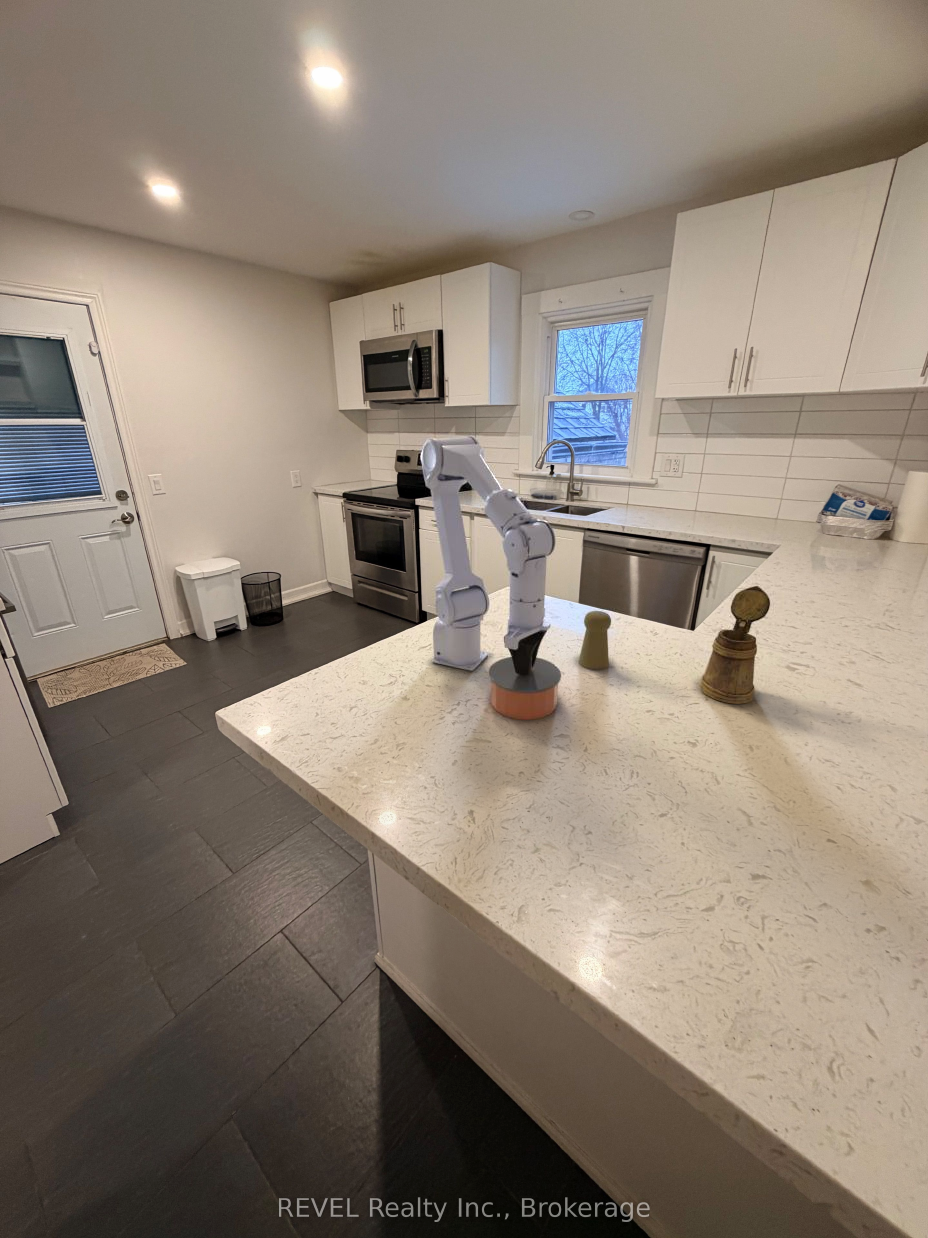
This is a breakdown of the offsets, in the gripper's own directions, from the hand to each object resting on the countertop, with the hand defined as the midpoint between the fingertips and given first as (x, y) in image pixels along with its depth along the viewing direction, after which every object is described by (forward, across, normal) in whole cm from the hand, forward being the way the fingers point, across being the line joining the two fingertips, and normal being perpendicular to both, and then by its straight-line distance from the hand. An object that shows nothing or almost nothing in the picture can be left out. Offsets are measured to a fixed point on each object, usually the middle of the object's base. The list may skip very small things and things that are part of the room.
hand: (524, 669), depth 86 cm
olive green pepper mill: (+7, +20, -8) cm, 23 cm away
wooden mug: (+7, +21, -33) cm, 40 cm away
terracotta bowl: (+6, 0, 0) cm, 6 cm away
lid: (+1, 0, 0) cm, 1 cm away
